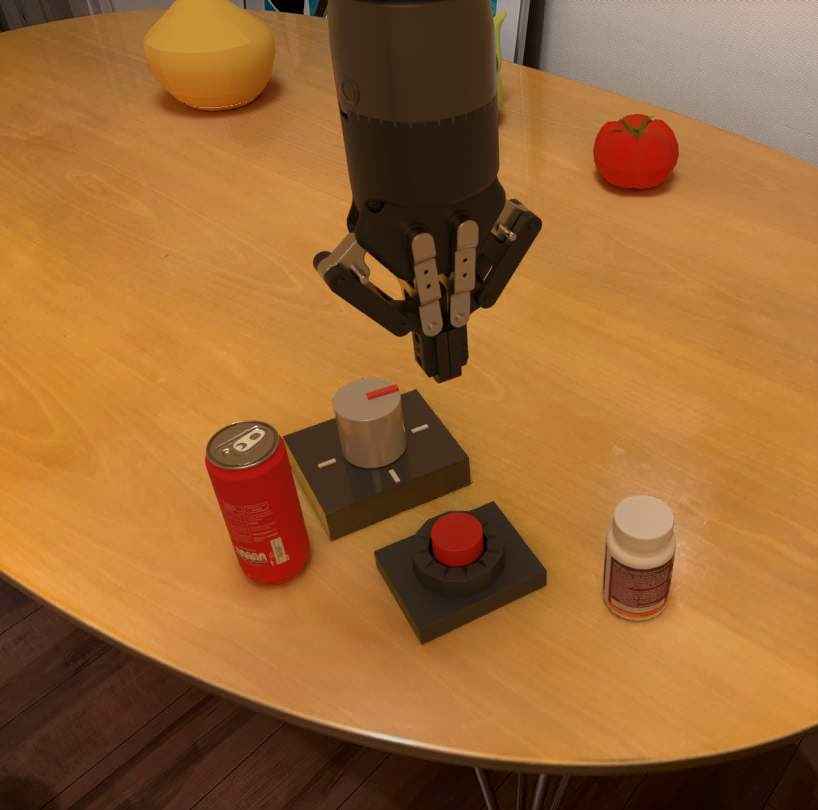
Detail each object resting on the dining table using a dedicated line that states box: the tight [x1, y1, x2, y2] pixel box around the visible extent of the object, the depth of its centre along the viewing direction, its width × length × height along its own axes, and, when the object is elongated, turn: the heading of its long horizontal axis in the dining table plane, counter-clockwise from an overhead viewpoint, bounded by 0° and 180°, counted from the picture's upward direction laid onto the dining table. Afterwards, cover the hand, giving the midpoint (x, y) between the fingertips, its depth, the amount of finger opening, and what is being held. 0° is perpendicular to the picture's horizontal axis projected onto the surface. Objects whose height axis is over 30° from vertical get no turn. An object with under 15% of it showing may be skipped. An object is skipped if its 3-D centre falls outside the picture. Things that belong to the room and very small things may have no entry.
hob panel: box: [282, 388, 472, 541], centre depth 72 cm, size 12×10×3 cm
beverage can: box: [204, 419, 311, 586], centre depth 62 cm, size 5×5×12 cm
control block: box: [373, 500, 548, 645], centre depth 64 cm, size 10×8×4 cm
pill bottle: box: [602, 494, 677, 622], centre depth 61 cm, size 5×5×8 cm
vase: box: [142, 0, 277, 112], centre depth 128 cm, size 18×18×19 cm
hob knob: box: [332, 377, 407, 468], centre depth 69 cm, size 5×5×5 cm
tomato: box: [592, 113, 680, 190], centre depth 111 cm, size 11×11×8 cm
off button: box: [431, 513, 483, 567], centre depth 62 cm, size 4×4×2 cm
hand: (442, 372), depth 53 cm, fingers closed
